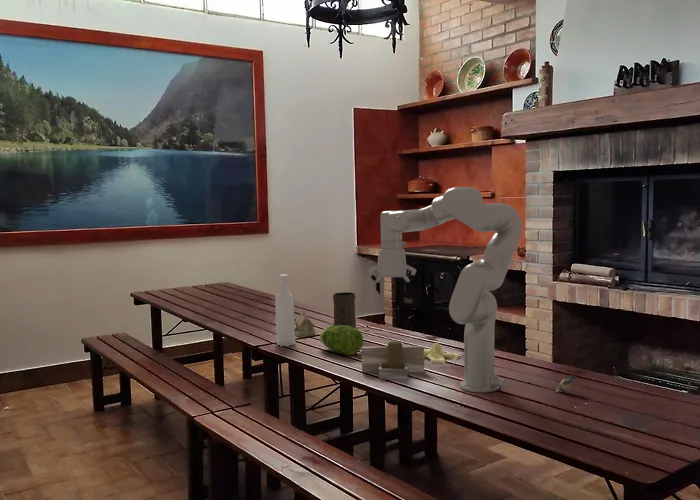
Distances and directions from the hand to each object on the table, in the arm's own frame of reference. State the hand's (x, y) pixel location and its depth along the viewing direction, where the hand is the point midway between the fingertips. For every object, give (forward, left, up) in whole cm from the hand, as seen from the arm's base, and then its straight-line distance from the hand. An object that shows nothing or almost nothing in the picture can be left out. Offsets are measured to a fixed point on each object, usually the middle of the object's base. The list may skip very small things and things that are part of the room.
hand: (392, 293), depth 231 cm
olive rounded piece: (-5, +7, -27) cm, 28 cm away
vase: (-61, -6, -28) cm, 67 cm away
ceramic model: (+68, -27, -28) cm, 78 cm away
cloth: (-4, -21, -28) cm, 36 cm away
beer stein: (+49, -33, -28) cm, 66 cm away
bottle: (+60, -6, -28) cm, 67 cm away
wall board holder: (-5, +8, -28) cm, 29 cm away
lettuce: (+32, -8, -28) cm, 43 cm away
